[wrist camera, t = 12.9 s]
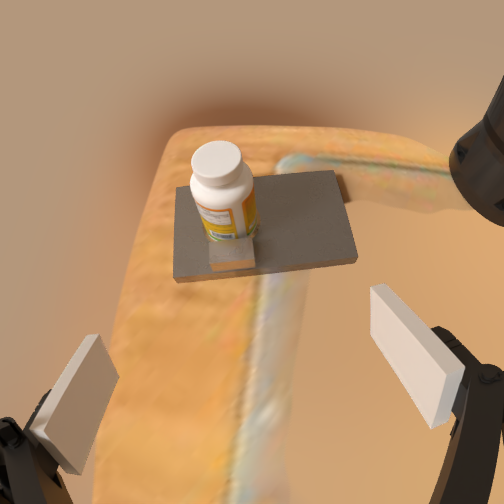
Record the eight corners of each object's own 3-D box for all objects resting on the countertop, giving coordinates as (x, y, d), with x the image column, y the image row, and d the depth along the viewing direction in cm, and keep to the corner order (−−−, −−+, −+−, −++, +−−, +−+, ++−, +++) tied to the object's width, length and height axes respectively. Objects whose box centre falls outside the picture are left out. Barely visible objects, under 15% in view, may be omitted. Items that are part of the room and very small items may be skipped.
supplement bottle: (242, 193, 34) (231, 125, 25) (267, 230, 32) (263, 164, 23) (196, 215, 33) (172, 151, 24) (218, 255, 31) (197, 195, 22)
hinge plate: (331, 178, 36) (336, 158, 33) (354, 263, 31) (363, 247, 28) (179, 195, 36) (171, 176, 33) (177, 283, 32) (166, 269, 28)
